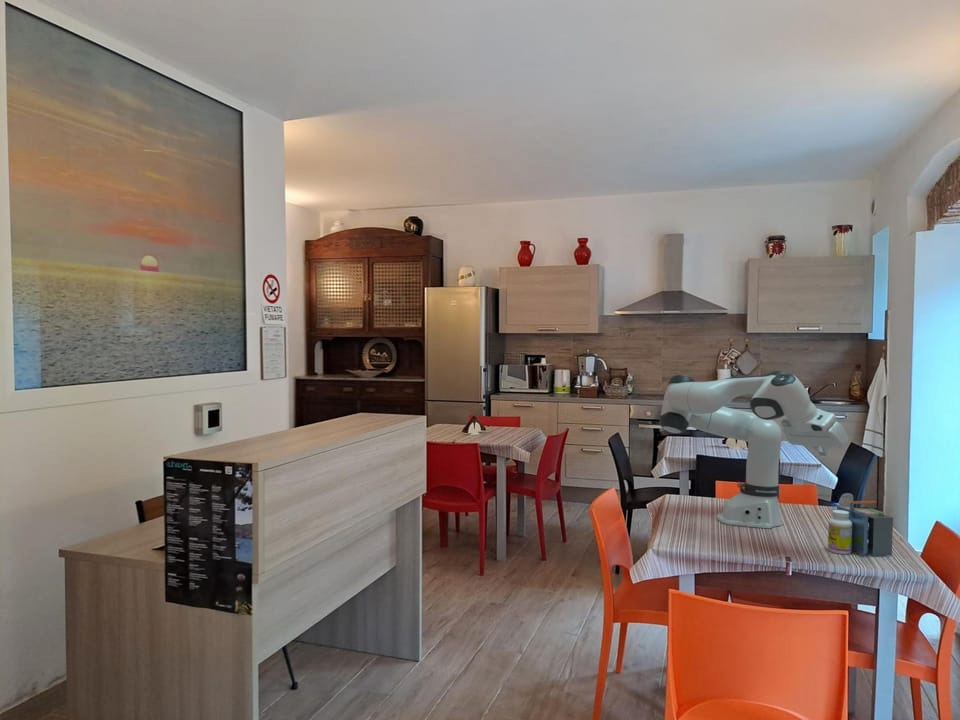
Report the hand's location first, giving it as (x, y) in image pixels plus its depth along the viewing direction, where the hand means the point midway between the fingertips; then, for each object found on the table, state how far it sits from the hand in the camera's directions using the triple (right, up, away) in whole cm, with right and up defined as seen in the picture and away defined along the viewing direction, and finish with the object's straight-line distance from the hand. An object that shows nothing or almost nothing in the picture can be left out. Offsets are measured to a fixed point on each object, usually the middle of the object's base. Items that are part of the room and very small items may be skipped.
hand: (825, 454), depth 213 cm
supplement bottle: (+6, -31, +3) cm, 32 cm away
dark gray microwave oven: (+16, -31, +5) cm, 35 cm away
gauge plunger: (+14, -30, +4) cm, 34 cm away
